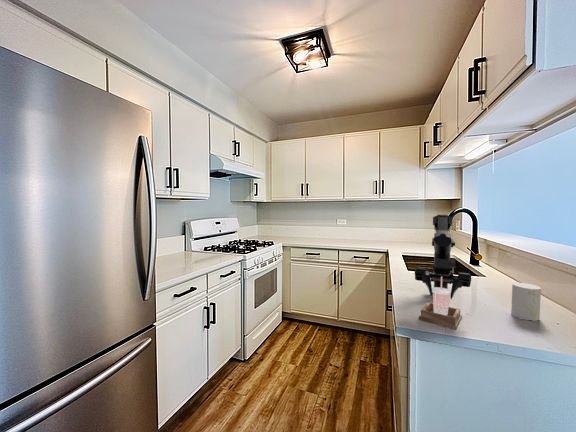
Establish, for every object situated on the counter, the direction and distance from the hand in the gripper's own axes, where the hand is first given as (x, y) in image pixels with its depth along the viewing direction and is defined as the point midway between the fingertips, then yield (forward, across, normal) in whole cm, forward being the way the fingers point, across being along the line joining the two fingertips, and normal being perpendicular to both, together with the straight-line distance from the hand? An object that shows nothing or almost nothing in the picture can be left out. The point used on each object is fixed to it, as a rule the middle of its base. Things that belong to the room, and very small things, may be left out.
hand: (441, 297), depth 98 cm
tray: (+5, 0, +7) cm, 9 cm away
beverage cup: (+4, 0, +6) cm, 7 cm away
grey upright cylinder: (-8, +28, +21) cm, 36 cm away
